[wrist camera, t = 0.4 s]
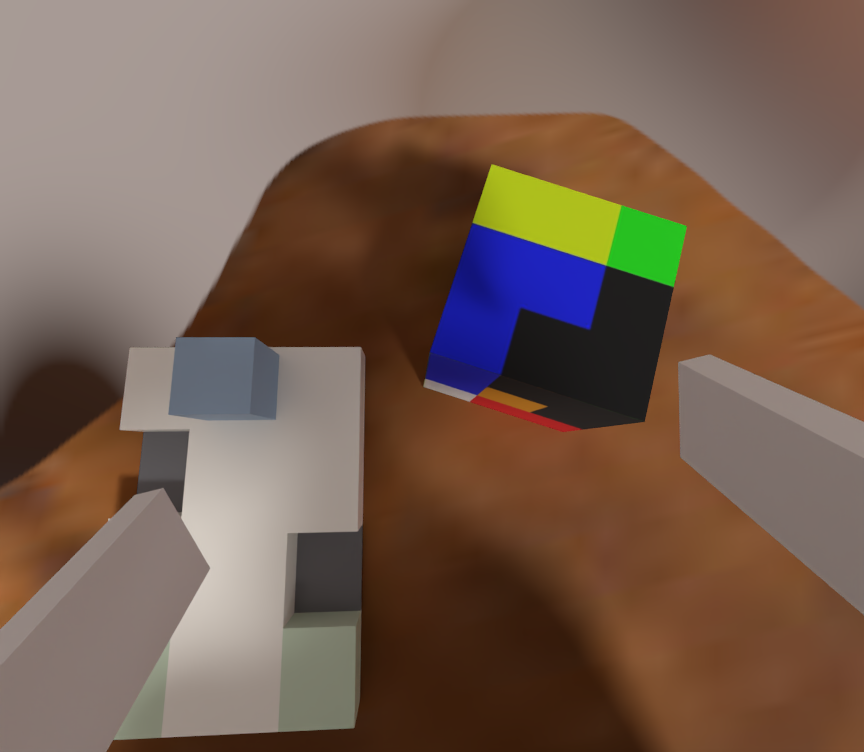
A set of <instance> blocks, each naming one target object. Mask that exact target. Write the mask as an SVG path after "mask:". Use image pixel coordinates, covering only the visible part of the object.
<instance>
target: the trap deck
mask: <svg viewBox="0 0 864 752" xmlns="http://www.w3.org/2000/svg"><path fill="white" fill-rule="evenodd" d="M269 348H270V349H272V350H273V351H275V352H276V353H277V354H279V372H278V391H277V409H276V420H211V421H207V420H201V419H194V418H187V417H180V416H174V415H168V412H169V402H170V392H171V383H172V373H173V363H174V353H175V347H140V348H139V347H130V349H129V357H128V366H127V373H126V381H125V389H124V398H123V406H122V414H121V422H120V430H127V431H141V432H144V434H143V443H142V452H141V460H140V469H139V478H138V487H137V494H141V493H145V492H149V491H153V490H157V489H161V488H164V490H165V491H166V493H167V495H168V497H169V498H170V500H171V502H172V503H173V505H174V507H175V509H176V510H177V512H178V514H179V515H180V517H181V519H182V521H183V522H184V524H185V526H186V527H187V529H188V531H189V533H190V534H191V536H192V538H193V539H194V541H195V543H196V545H197V546H198V548H199V550H200V551H201V553H202V555H203V557H204V558H205V560H206V562H207V563H208V565H209V567H210V570H209V572H208V573H207V575H206V577H205V579H204V581H203V582H202V584H201V586H200V588H199V589H198V591H197V593H196V595H195V596H194V598H193V600H192V602H191V603H190V605H189V607H188V609H187V610H186V612H185V614H184V616H183V618H182V619H181V621H180V623H179V625H178V626H177V628H176V630H175V632H174V633H173V635H172V637H171V639H170V640H169V642H168V644H167V646H166V647H165V649H164V651H163V653H162V655H161V656H160V658H159V660H158V662H157V663H156V665H155V667H154V669H153V670H152V672H151V674H150V676H149V677H148V679H147V681H146V683H145V684H144V686H143V688H142V690H141V692H140V693H139V695H138V697H137V699H136V700H135V702H134V704H133V706H132V707H131V709H130V711H129V713H128V714H127V716H126V718H125V720H124V721H123V723H122V725H121V727H120V728H119V730H118V732H117V734H116V736H115V737H114V739H113V740H125V739H145V738H165V737H186V736H206V735H227V734H247V733H267V732H288V731H308V730H328V729H349V728H354V727H355V722H356V717H357V713H358V708H359V703H360V672H361V607H362V543H363V478H364V413H365V354H364V352H363V350H362V348H361V347H269ZM109 520H110V519H109ZM109 520H108V521H109Z"/></svg>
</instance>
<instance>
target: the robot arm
mask: <svg viewBox="0 0 864 752" xmlns="http://www.w3.org/2000/svg"><path fill="white" fill-rule="evenodd" d="M678 371H679V417H680V457H681V458H682V459H683V460H684V461H685V462H687V463H688V464H689V465H690V466H691V467H692V468H694V469H695V470H696V471H697V472H698V473H699V474H701V475H702V476H703V477H704V478H705V479H706V480H708V481H709V482H710V483H711V484H712V485H713V486H714V487H716V488H717V489H718V490H719V491H720V492H721V493H723V494H724V495H725V496H726V497H727V498H728V499H730V500H731V501H732V502H733V503H734V504H735V505H737V506H738V507H739V508H740V509H741V510H742V511H744V512H745V513H746V514H747V515H748V516H749V517H751V518H752V519H753V520H754V521H755V522H756V523H757V524H759V525H760V526H761V527H762V528H763V529H764V530H766V531H767V532H768V533H769V534H770V535H771V536H773V537H774V538H775V539H776V540H777V541H778V542H780V543H781V544H782V545H783V546H784V547H785V548H787V549H788V550H789V551H790V552H791V553H792V554H794V555H795V556H796V557H797V558H798V559H799V560H800V561H802V562H803V563H804V564H805V565H806V566H807V567H809V568H810V569H811V570H812V571H813V572H814V573H816V574H817V575H818V576H819V577H820V578H821V579H823V580H824V581H825V582H826V583H827V584H828V585H830V586H831V587H832V588H833V589H834V590H835V591H836V592H838V593H839V594H840V595H841V596H842V597H843V598H845V599H846V600H847V601H848V602H849V603H850V604H852V605H853V606H854V607H855V608H856V609H857V610H859V611H860V612H861V613H862V614H863V615H864V422H862V421H860V420H858V419H856V418H853V417H851V416H849V415H846V414H844V413H842V412H840V411H837V410H835V409H833V408H830V407H828V406H826V405H824V404H821V403H819V402H817V401H814V400H812V399H810V398H808V397H805V396H803V395H801V394H799V393H796V392H794V391H792V390H789V389H787V388H785V387H783V386H780V385H778V384H776V383H773V382H771V381H769V380H767V379H764V378H762V377H760V376H757V375H755V374H753V373H751V372H748V371H746V370H744V369H741V368H739V367H737V366H735V365H732V364H730V363H728V362H725V361H723V360H721V359H719V358H716V357H714V356H712V355H706V356H702V357H698V358H694V359H690V360H685V361H681V362H678ZM209 570H210V567H209V565H208V563H207V562H206V560H205V558H204V557H203V555H202V553H201V551H200V550H199V548H198V546H197V545H196V543H195V541H194V539H193V538H192V536H191V534H190V533H189V531H188V529H187V527H186V526H185V524H184V522H183V521H182V519H181V517H180V515H179V514H178V512H177V510H176V509H175V507H174V505H173V503H172V502H171V500H170V498H169V497H168V495H167V493H166V491H165V490H164V488H161V489H157V490H153V491H149V492H145V493H141V494H137V495H134V496H133V497H132V498H131V499H130V500H129V501H128V502H127V503H126V504H125V505H124V506H123V507H122V508H121V509H120V510H119V511H118V512H117V513H116V514H115V515H114V516H113V517H112V518H111V519H110V520H109V521H108V522H107V523H106V524H105V525H104V526H103V527H102V528H101V529H100V530H99V531H98V532H97V533H96V534H95V535H94V536H93V537H92V538H91V539H90V540H89V541H88V542H87V543H86V544H85V545H84V546H83V547H82V548H81V549H80V550H79V551H78V552H77V553H76V554H75V555H74V556H73V557H72V558H71V559H70V560H69V561H68V562H67V563H66V564H65V565H64V566H63V567H62V568H61V569H60V570H59V571H58V572H57V573H56V574H55V575H54V576H53V577H52V578H51V579H50V580H49V581H48V582H47V583H46V584H45V585H44V586H43V587H42V588H41V589H40V590H39V591H38V592H37V593H36V594H35V595H34V596H33V597H32V598H31V599H30V600H29V601H28V602H27V603H26V604H25V605H24V606H23V607H22V608H21V609H20V610H19V611H18V612H17V613H16V614H15V615H14V616H13V617H12V618H11V619H10V620H9V621H8V622H7V623H6V624H5V625H4V626H3V627H2V628H1V629H0V752H106V751H107V750H108V748H109V746H110V744H111V743H112V741H113V739H114V737H115V736H116V734H117V732H118V730H119V728H120V727H121V725H122V723H123V721H124V720H125V718H126V716H127V714H128V713H129V711H130V709H131V707H132V706H133V704H134V702H135V700H136V699H137V697H138V695H139V693H140V692H141V690H142V688H143V686H144V684H145V683H146V681H147V679H148V677H149V676H150V674H151V672H152V670H153V669H154V667H155V665H156V663H157V662H158V660H159V658H160V656H161V655H162V653H163V651H164V649H165V647H166V646H167V644H168V642H169V640H170V639H171V637H172V635H173V633H174V632H175V630H176V628H177V626H178V625H179V623H180V621H181V619H182V618H183V616H184V614H185V612H186V610H187V609H188V607H189V605H190V603H191V602H192V600H193V598H194V596H195V595H196V593H197V591H198V589H199V588H200V586H201V584H202V582H203V581H204V579H205V577H206V575H207V573H208V572H209Z"/></svg>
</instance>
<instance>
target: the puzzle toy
mask: <svg viewBox="0 0 864 752" xmlns="http://www.w3.org/2000/svg"><path fill="white" fill-rule="evenodd" d="M686 227H687V226H685V225H681V224H678V223H675V222H672V221H669V220H666V219H663V218H659V217H656V216H653V215H650V214H647V213H644V212H640V211H637V210H634V209H631V208H628V207H625V206H622V205H618V204H615V203H612V202H609V201H606V200H603V199H600V198H596V197H593V196H590V195H587V194H584V193H581V192H577V191H574V190H571V189H568V188H565V187H562V186H559V185H555V184H552V183H549V182H546V181H543V180H540V179H537V178H533V177H530V176H527V175H524V174H521V173H518V172H514V171H511V170H508V169H505V168H502V167H499V166H496V165H491V168H490V171H489V174H488V177H487V180H486V183H485V186H484V189H483V192H482V195H481V198H480V201H479V204H478V207H477V210H476V213H475V216H474V219H473V223H472V226H471V229H470V232H469V235H468V238H467V241H466V244H465V247H464V250H463V253H462V256H461V259H460V262H459V265H458V268H457V271H456V274H455V277H454V280H453V283H452V286H451V289H450V292H449V295H448V298H447V301H446V304H445V307H444V310H443V313H442V317H441V320H440V323H439V326H438V329H437V332H436V335H435V338H434V341H433V344H432V347H431V350H430V353H429V359H428V364H427V370H426V375H425V381H424V386H423V387H426V388H429V389H432V390H435V391H438V392H441V393H444V394H447V395H450V396H453V397H456V398H460V399H463V400H466V401H469V402H472V403H475V404H478V405H481V406H484V407H487V408H490V409H494V410H497V411H500V412H503V413H506V414H509V415H512V416H515V417H518V418H521V419H524V420H528V421H531V422H534V423H537V424H540V425H543V426H546V427H549V428H552V429H555V430H559V431H562V432H566V431H574V430H582V429H590V428H598V427H606V426H614V425H622V424H631V423H639V422H645V417H646V413H647V408H648V403H649V399H650V394H651V390H652V385H653V380H654V376H655V371H656V366H657V362H658V357H659V353H660V348H661V343H662V339H663V334H664V329H665V325H666V320H667V315H668V311H669V306H670V302H671V297H672V292H673V288H674V283H675V278H676V274H677V269H678V265H679V260H680V255H681V251H682V246H683V241H684V237H685V232H686Z"/></svg>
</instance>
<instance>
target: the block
mask: <svg viewBox="0 0 864 752" xmlns="http://www.w3.org/2000/svg"><path fill="white" fill-rule="evenodd" d="M278 372H279V354H277V353H276V352H275V351H273V350H272V349H270V348H269V347H268V346H266V345H265V344H264V343H262V342H261V341H259V340H258V339H257V338H255V337H176V343H175V353H174V363H173V373H172V383H171V392H170V402H169V412H168V415H174V416H180V417H187V418H194V419H201V420H207V421H211V420H276V409H277V391H278Z"/></svg>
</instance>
